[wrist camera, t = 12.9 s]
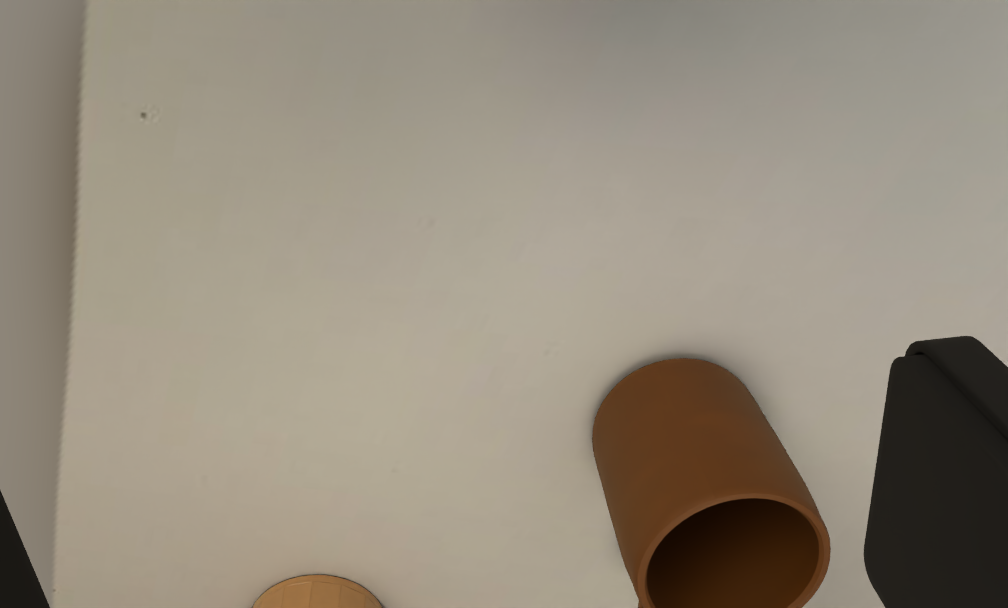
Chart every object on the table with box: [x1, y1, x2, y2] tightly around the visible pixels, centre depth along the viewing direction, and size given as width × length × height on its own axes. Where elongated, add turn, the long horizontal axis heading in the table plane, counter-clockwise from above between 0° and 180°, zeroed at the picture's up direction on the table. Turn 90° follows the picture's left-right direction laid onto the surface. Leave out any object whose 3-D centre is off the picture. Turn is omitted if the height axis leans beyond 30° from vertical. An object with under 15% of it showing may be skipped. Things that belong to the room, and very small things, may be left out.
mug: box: [592, 358, 830, 608], centre depth 39 cm, size 12×8×9 cm, turn 168°
